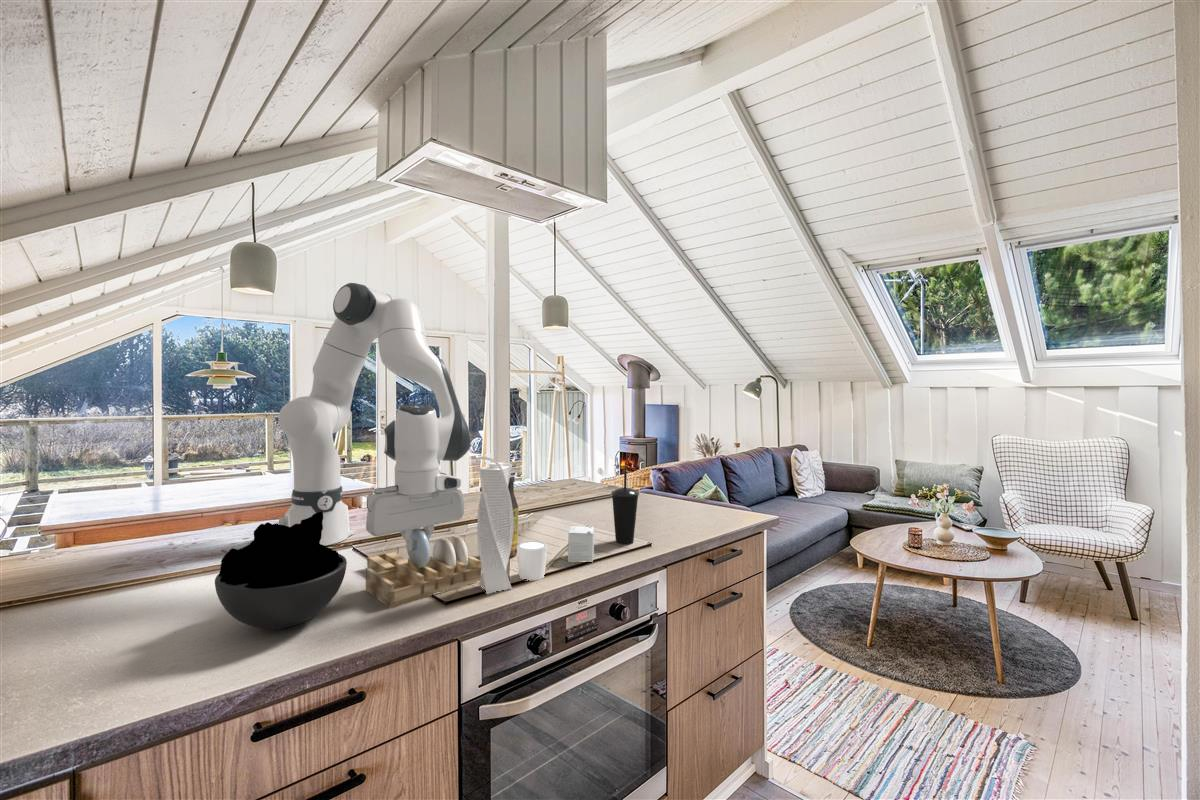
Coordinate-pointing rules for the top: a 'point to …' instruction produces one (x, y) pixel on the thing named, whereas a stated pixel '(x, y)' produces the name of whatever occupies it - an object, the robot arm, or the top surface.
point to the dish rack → (425, 574)
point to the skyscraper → (495, 525)
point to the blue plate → (419, 549)
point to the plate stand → (384, 561)
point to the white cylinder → (532, 559)
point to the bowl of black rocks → (280, 575)
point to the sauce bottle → (515, 517)
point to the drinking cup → (624, 512)
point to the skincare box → (580, 544)
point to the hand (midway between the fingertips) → (417, 548)
